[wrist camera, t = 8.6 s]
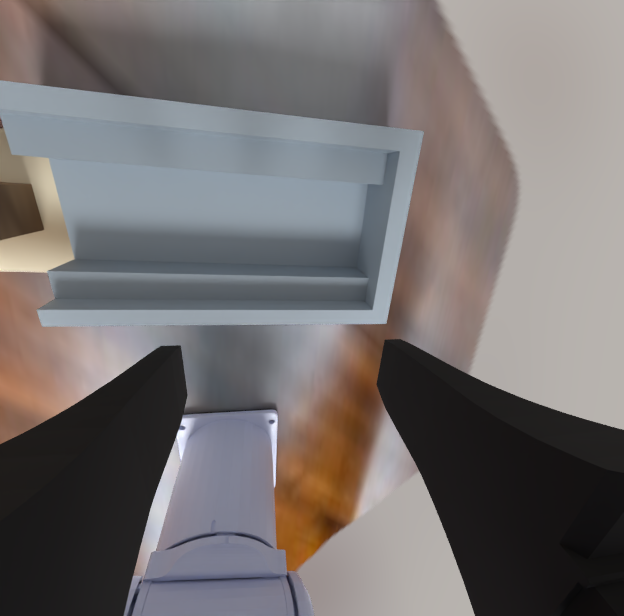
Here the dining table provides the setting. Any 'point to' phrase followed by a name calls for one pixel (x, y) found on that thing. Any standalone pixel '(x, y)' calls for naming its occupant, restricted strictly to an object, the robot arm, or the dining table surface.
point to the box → (215, 210)
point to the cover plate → (34, 242)
